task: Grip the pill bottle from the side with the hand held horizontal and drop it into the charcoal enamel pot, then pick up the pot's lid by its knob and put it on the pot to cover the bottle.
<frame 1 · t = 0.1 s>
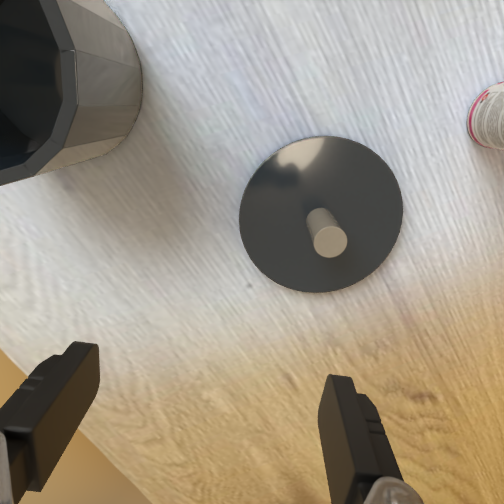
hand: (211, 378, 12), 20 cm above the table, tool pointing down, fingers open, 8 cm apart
pill bottle: (495, 115, 28), on the table
pot: (61, 76, 27), on the table
pot lid: (319, 219, 30), point 1 cm above the table
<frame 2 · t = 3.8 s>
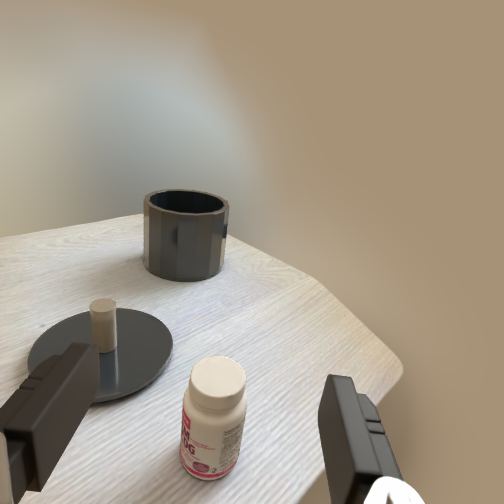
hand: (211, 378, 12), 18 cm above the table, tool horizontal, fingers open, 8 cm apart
pill bottle: (209, 454, 29), on the table
pot: (184, 262, 58), on the table
pot lid: (105, 350, 37), point 1 cm above the table
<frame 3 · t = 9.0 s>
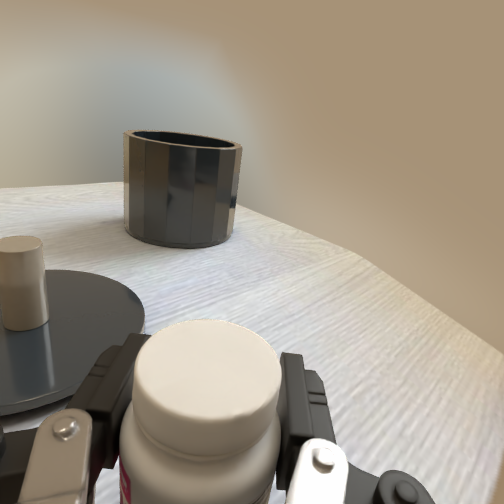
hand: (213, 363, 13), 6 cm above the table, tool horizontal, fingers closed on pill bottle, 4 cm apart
pot: (179, 227, 43), on the table
pot lid: (27, 327, 22), point 1 cm above the table
when the fingers open (16 cm above the table, at t = 17.5 s): pill bottle drops 9 cm, resting on pot.
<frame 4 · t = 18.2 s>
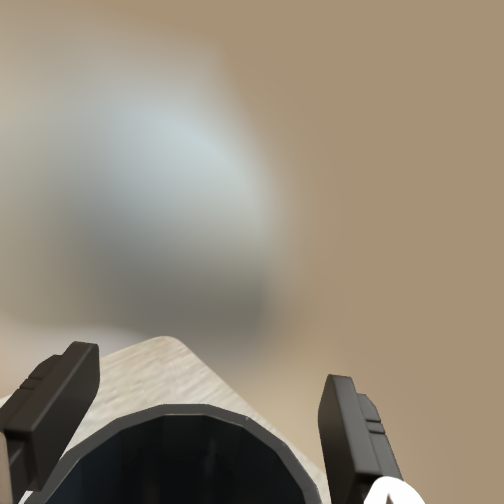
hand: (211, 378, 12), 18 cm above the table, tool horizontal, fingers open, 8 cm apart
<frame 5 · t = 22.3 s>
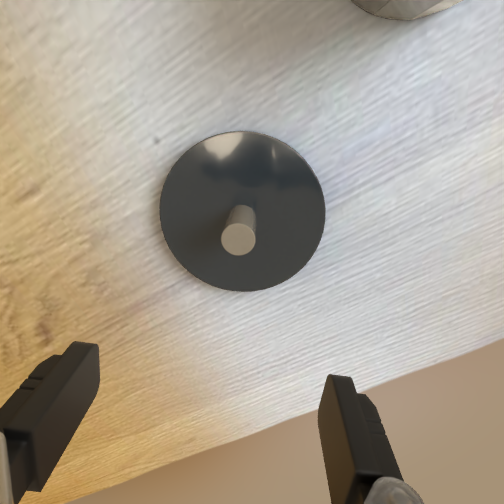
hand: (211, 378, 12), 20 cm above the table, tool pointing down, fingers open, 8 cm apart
pot lid: (242, 216, 30), point 1 cm above the table
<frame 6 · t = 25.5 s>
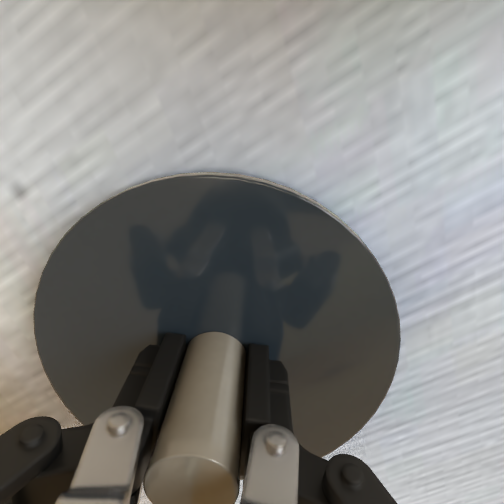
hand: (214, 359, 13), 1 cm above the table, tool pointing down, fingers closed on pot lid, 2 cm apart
pot lid: (217, 347, 14), point 1 cm above the table, touching gripper
when the fingers open (11 cm above the table, at t = 32.5 s): pot lid stays where it is, resting on pot.
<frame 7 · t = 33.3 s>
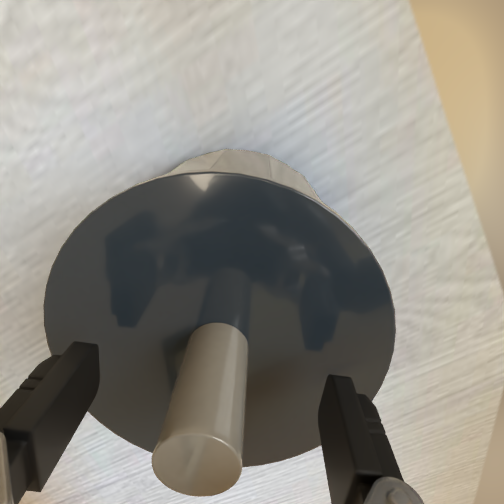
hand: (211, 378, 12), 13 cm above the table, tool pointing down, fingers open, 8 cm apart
pot: (236, 244, 24), on the table
pot lid: (220, 338, 15), point 10 cm above the table, touching pot
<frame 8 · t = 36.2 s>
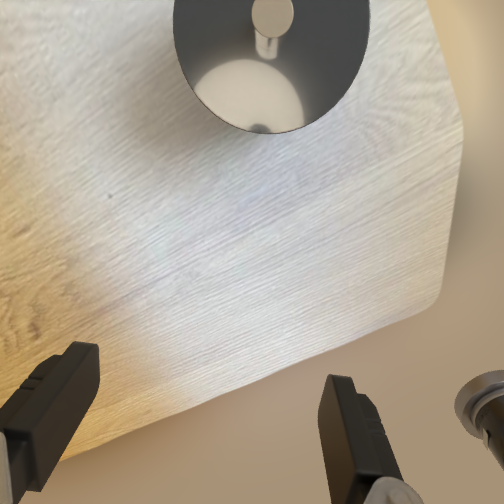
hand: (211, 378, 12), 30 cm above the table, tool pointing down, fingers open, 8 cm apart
pot lid: (270, 32, 25), point 10 cm above the table, touching pot
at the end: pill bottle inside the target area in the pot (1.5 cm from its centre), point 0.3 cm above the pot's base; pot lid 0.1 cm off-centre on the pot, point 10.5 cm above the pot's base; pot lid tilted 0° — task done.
